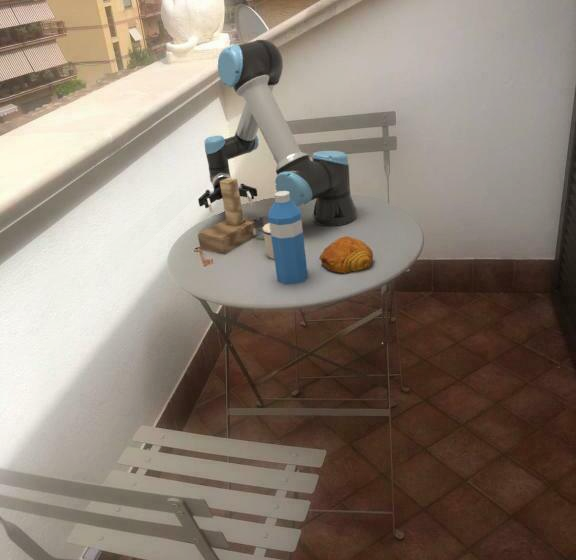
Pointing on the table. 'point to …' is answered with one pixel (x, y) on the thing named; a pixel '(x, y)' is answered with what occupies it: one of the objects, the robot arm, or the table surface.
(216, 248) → the wooden sliding lid box
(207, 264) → the key
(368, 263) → the croissant
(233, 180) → the wooden key peg
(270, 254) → the teacup with lid
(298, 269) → the water bottle
